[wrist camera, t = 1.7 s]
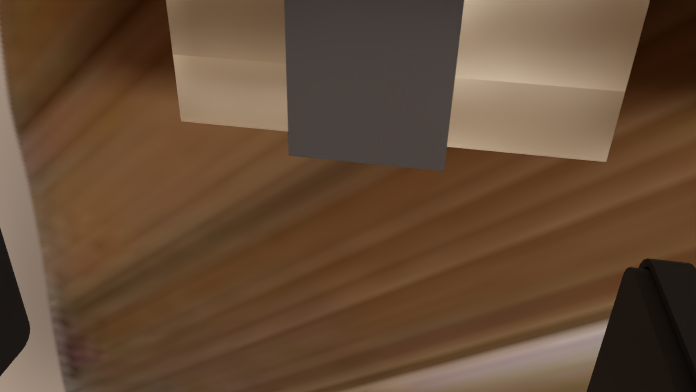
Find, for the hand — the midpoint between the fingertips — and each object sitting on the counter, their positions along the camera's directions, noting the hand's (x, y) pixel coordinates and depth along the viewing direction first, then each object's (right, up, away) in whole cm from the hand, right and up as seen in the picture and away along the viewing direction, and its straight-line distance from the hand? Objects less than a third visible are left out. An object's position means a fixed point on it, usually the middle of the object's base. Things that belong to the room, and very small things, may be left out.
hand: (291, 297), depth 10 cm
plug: (+3, +10, +16) cm, 19 cm away
